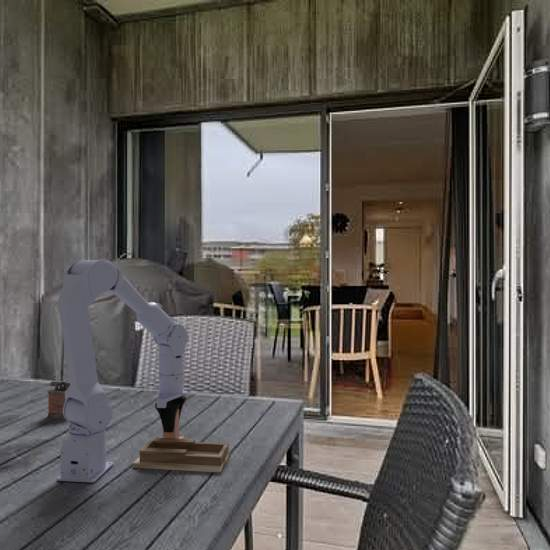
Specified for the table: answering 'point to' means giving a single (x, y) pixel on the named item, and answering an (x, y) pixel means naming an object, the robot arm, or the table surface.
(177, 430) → the key peg
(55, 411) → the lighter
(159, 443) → the keyhole board
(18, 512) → the table surface
